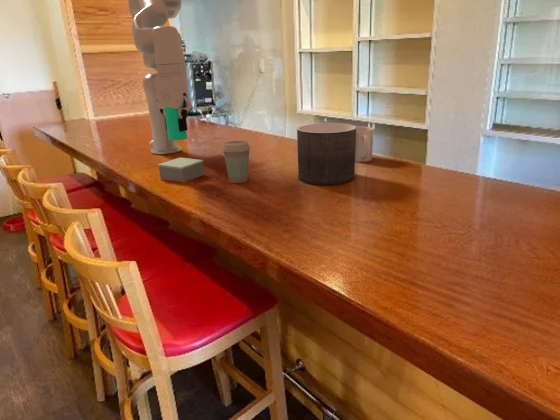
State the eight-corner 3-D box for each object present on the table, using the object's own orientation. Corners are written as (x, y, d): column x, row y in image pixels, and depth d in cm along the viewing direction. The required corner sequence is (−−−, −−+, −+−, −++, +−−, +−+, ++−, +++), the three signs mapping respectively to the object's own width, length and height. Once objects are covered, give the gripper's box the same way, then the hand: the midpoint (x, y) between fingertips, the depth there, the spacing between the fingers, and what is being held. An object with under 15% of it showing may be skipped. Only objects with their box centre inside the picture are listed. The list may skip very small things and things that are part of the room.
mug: (376, 156, 156) (378, 126, 153) (368, 164, 146) (370, 132, 142) (349, 155, 161) (349, 125, 157) (339, 162, 151) (340, 131, 147)
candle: (182, 140, 132) (178, 101, 128) (165, 140, 133) (160, 101, 129) (190, 137, 138) (186, 99, 134) (173, 137, 139) (168, 99, 135)
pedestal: (159, 179, 138) (157, 164, 137) (181, 171, 147) (180, 157, 145) (183, 182, 133) (181, 167, 132) (204, 174, 142) (203, 160, 140)
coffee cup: (256, 177, 136) (253, 140, 132) (245, 185, 128) (242, 146, 124) (232, 176, 139) (229, 140, 135) (220, 183, 131) (216, 145, 127)
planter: (317, 189, 122) (317, 135, 116) (288, 175, 137) (286, 127, 131) (366, 179, 129) (368, 128, 124) (333, 167, 144) (334, 121, 139)
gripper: (140, 71, 129) (149, 130, 136) (181, 70, 121) (189, 133, 128) (158, 70, 136) (166, 127, 142) (199, 69, 127) (205, 129, 134)
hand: (176, 129), depth 135 cm, fingers closed on candle, 4 cm apart
